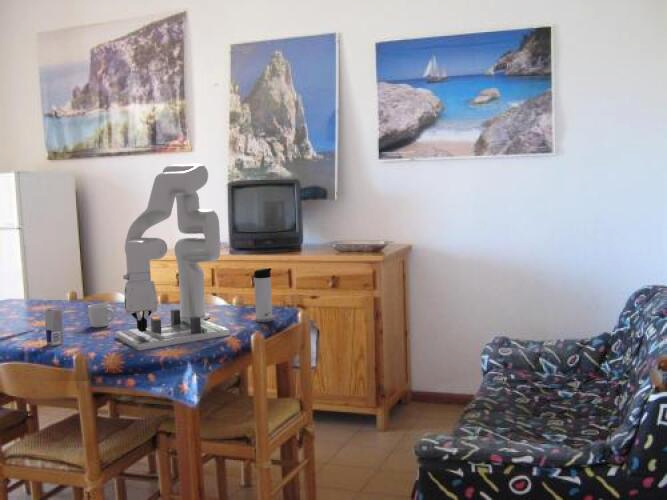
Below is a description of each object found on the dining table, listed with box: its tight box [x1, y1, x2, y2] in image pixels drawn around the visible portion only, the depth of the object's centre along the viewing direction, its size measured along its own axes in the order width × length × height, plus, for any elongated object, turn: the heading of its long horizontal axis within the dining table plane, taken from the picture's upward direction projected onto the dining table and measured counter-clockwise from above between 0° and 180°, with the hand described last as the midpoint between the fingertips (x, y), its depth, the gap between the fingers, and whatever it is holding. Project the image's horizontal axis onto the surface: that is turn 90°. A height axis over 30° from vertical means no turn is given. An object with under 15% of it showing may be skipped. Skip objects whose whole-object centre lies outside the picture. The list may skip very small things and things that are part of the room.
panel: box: [114, 308, 230, 351], centre depth 235 cm, size 24×32×7 cm
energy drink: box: [44, 307, 65, 347], centre depth 228 cm, size 5×5×12 cm
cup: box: [87, 303, 116, 328], centre depth 255 cm, size 11×8×8 cm
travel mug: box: [253, 267, 273, 323], centre depth 256 cm, size 6×7×20 cm
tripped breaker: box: [150, 316, 162, 333], centre depth 232 cm, size 3×2×5 cm
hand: (142, 330), depth 229 cm, fingers closed
